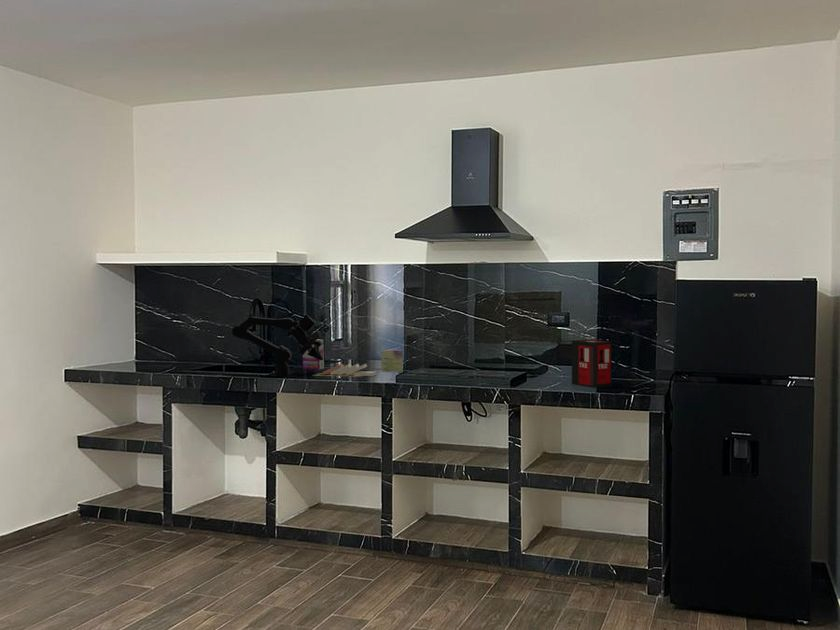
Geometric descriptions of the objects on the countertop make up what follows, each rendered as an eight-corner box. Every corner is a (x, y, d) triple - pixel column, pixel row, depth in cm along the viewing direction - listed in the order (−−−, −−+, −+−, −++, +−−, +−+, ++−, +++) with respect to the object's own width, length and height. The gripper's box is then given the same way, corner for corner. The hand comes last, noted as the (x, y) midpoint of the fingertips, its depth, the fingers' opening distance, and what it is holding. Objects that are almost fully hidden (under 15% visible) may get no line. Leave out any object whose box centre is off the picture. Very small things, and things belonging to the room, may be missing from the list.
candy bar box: (324, 369, 444) (324, 339, 443) (319, 370, 440) (318, 339, 439) (307, 368, 450) (307, 338, 449) (302, 369, 445) (301, 339, 444)
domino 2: (330, 372, 411) (347, 364, 408) (333, 371, 415) (350, 363, 413) (331, 375, 410) (348, 367, 408) (334, 374, 415) (351, 366, 413)
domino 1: (322, 372, 411) (339, 364, 409) (325, 370, 416) (342, 363, 414) (323, 375, 411) (340, 367, 409) (326, 373, 416) (344, 366, 414)
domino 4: (345, 372, 409) (363, 364, 406) (348, 371, 414) (366, 363, 411) (346, 375, 409) (364, 367, 406) (350, 374, 414) (367, 366, 411)
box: (401, 371, 430) (400, 349, 430) (402, 373, 425) (402, 350, 424) (381, 372, 429) (381, 349, 428) (382, 373, 423) (382, 350, 422)
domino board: (311, 377, 410) (311, 375, 410) (318, 375, 420) (318, 373, 420) (361, 378, 404) (361, 376, 404) (367, 375, 414) (367, 373, 414)
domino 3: (338, 372, 410) (355, 364, 407) (341, 371, 414) (358, 363, 412) (339, 375, 410) (356, 367, 407) (342, 374, 414) (359, 366, 412)
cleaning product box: (571, 383, 377) (571, 340, 376) (586, 382, 382) (586, 339, 380) (596, 388, 363) (596, 343, 362) (611, 386, 367) (611, 341, 366)
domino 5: (353, 372, 408) (373, 372, 406) (356, 371, 413) (375, 371, 410) (353, 375, 408) (373, 376, 406) (356, 374, 413) (376, 374, 411)
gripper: (305, 327, 405) (326, 350, 403) (318, 325, 423) (339, 347, 421) (290, 343, 407) (311, 366, 405) (304, 340, 425) (324, 362, 423)
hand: (322, 359), depth 414 cm, fingers closed
